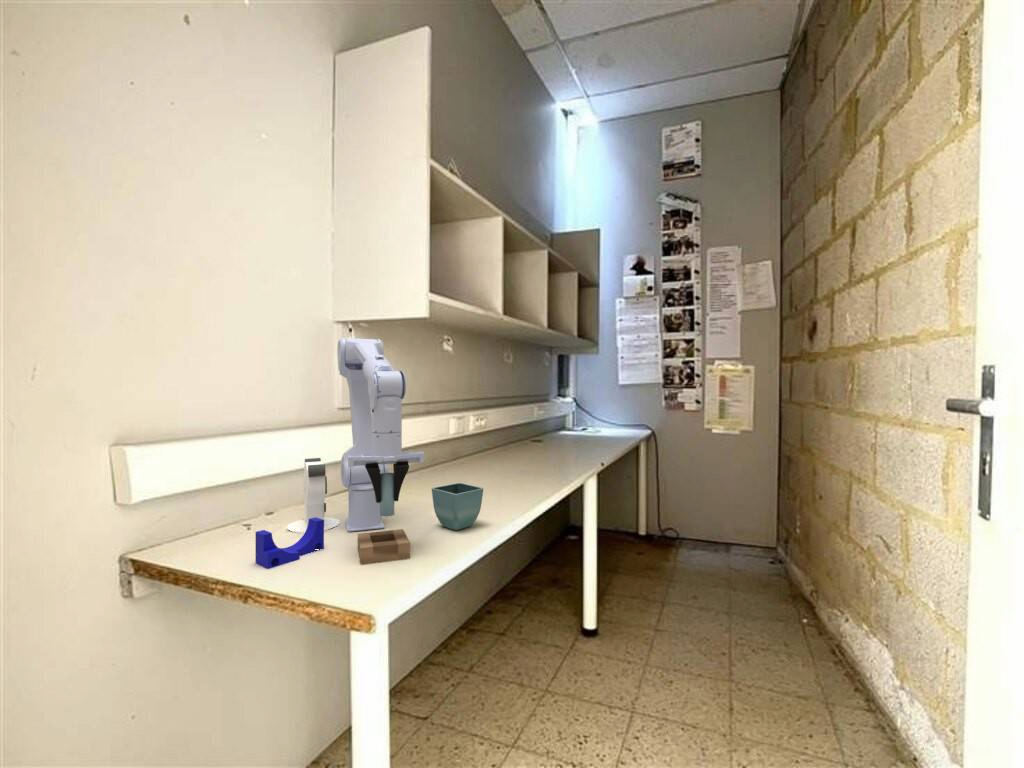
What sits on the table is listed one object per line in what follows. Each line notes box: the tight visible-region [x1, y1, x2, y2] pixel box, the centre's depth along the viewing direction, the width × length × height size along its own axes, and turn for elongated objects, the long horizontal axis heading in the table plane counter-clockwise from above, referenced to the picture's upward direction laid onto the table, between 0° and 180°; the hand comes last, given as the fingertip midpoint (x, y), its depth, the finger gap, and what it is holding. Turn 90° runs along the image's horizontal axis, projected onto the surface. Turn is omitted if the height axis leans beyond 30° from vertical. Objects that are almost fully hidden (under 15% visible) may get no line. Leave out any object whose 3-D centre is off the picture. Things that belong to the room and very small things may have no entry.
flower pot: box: [431, 482, 485, 531], centre depth 113 cm, size 9×9×9 cm
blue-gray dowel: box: [380, 472, 395, 517], centre depth 96 cm, size 3×3×8 cm
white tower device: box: [286, 457, 341, 534], centre depth 113 cm, size 12×11×15 cm
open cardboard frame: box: [357, 528, 411, 565], centre depth 95 cm, size 9×9×3 cm
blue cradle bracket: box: [255, 517, 325, 570], centre depth 93 cm, size 12×4×6 cm, turn 143°
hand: (386, 500), depth 96 cm, fingers closed on blue-gray dowel, 3 cm apart
